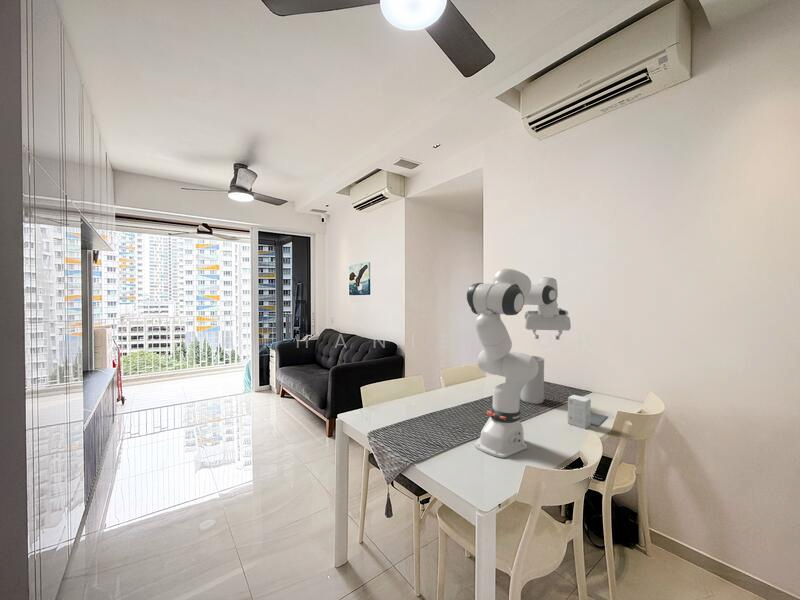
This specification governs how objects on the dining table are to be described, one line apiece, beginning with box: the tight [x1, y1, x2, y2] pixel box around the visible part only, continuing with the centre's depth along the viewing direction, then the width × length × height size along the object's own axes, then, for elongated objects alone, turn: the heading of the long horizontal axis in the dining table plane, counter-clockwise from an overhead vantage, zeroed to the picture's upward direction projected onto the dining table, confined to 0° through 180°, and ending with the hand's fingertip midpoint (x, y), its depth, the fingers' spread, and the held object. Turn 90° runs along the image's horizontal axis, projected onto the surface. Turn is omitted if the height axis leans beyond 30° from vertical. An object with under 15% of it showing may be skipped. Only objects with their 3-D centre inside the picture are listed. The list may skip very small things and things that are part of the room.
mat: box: [590, 411, 608, 427], centre depth 158 cm, size 16×9×1 cm, turn 133°
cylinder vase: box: [520, 355, 545, 405], centre depth 184 cm, size 12×12×25 cm
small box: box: [567, 394, 592, 429], centre depth 152 cm, size 8×6×13 cm
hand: (547, 339), depth 154 cm, fingers open, 8 cm apart
